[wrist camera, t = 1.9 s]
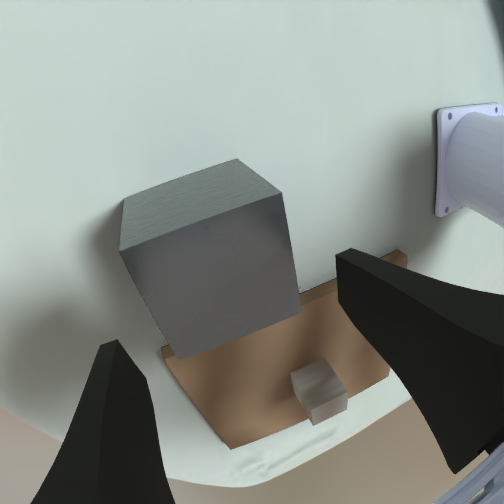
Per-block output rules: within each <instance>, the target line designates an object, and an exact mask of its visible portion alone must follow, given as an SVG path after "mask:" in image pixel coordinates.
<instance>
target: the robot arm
mask: <svg viewBox="0 0 504 504" xmlns="http://www.w3.org/2000/svg"><path fill="white" fill-rule="evenodd" d="M437 125H438V169H437V192H436V207H435V214H436V216H438V217H440V218H442V217H444V216H446V215H448V214H450V213H452V212H454V211H456V210H458V209H460V208H462V207H464V206H467V207H469V208H470V209H472V210H474V211H476V212H477V213H479V214H481V215H483V216H484V217H486V218H488V219H490V220H491V221H493V222H495V223H496V224H498V225H500V226H501V227H503V228H504V108H503V105H502V104H501V103H488V104H477V105H467V106H458V107H450V108H442V109H440V110H439V111H438V114H437ZM335 257H336V272H337V291H338V302H339V304H340V305H341V307H342V308H343V310H344V312H345V313H346V315H347V316H348V317H349V319H350V320H351V322H352V323H353V325H354V326H355V327H356V328H357V329H358V331H359V332H360V333H361V334H362V335H363V336H364V337H365V339H366V340H367V341H368V342H369V343H370V344H371V345H372V347H373V348H374V349H375V350H376V351H377V352H378V353H379V354H380V356H381V357H382V358H383V359H384V360H385V361H386V362H387V364H388V365H389V366H390V367H391V368H392V369H393V371H394V372H395V373H396V375H397V376H398V377H399V378H400V380H401V381H402V383H403V384H404V386H405V387H406V389H407V390H408V392H409V393H410V395H411V396H412V398H413V399H414V401H415V403H416V404H417V406H418V408H419V409H420V411H421V413H422V414H423V416H424V418H425V420H426V421H427V423H428V425H429V427H430V429H431V431H432V432H433V434H434V436H435V438H436V440H437V442H438V444H439V446H440V448H441V451H442V453H443V455H444V457H445V459H446V462H447V464H448V467H449V468H450V469H451V471H452V472H453V473H454V474H457V473H458V472H459V471H460V470H462V469H463V468H464V467H465V466H467V465H468V464H469V463H470V462H471V461H472V460H474V459H475V458H476V457H477V456H478V455H479V454H480V453H482V452H483V451H484V450H486V452H487V453H488V454H489V456H488V457H487V458H486V459H485V460H484V461H483V462H482V463H481V464H479V465H478V466H477V467H476V468H475V469H474V470H473V471H472V472H470V473H469V474H468V475H467V476H466V477H465V478H463V479H462V480H461V481H460V482H459V483H458V484H456V485H455V486H454V487H453V488H451V489H450V490H449V491H448V492H446V493H445V494H444V495H442V496H441V497H440V498H439V499H437V500H436V501H434V502H433V503H432V504H465V503H466V502H467V501H468V500H469V499H471V498H472V497H473V496H474V495H475V494H476V493H477V492H479V491H480V490H481V489H482V488H483V487H484V492H482V493H481V494H479V495H478V496H476V497H475V498H473V499H471V500H470V501H469V502H467V503H466V504H504V295H500V294H494V293H488V292H483V291H478V290H473V289H469V288H465V287H461V286H457V285H453V284H450V283H446V282H443V281H440V280H437V279H434V278H431V277H427V276H424V275H422V274H419V273H416V272H413V271H411V270H408V269H405V268H403V267H400V266H397V265H395V264H392V263H390V262H387V261H385V260H382V259H380V258H377V257H374V256H372V255H369V254H367V253H364V252H361V251H358V250H355V249H352V248H350V249H348V250H345V251H343V252H341V253H338V254H336V255H335ZM31 504H175V501H174V499H173V496H172V493H171V490H170V487H169V484H168V481H167V478H166V474H165V471H164V466H163V462H162V456H161V451H160V445H159V439H158V433H157V427H156V420H155V414H154V407H153V403H152V399H151V395H150V391H149V388H148V384H147V380H146V377H145V376H144V375H143V374H142V372H141V371H140V370H139V368H138V367H137V366H136V364H135V363H134V362H133V360H132V359H131V358H130V356H129V355H128V354H127V352H126V351H125V350H124V348H123V347H122V345H121V344H120V343H119V341H118V340H114V341H111V342H108V343H105V344H103V345H100V348H99V350H98V352H97V355H96V358H95V360H94V363H93V366H92V368H91V371H90V374H89V377H88V379H87V382H86V385H85V388H84V390H83V393H82V396H81V399H80V402H79V404H78V407H77V409H76V412H75V414H74V417H73V419H72V422H71V424H70V427H69V430H68V432H67V435H66V437H65V439H64V442H63V444H62V446H61V448H60V450H59V453H58V455H57V457H56V459H55V461H54V463H53V465H52V467H51V469H50V471H49V472H48V474H47V476H46V478H45V480H44V482H43V483H42V486H41V487H40V489H39V491H38V492H37V494H36V496H35V497H34V499H33V501H32V502H31Z"/></svg>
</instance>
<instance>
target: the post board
mask: <svg viewBox="0 0 504 504" xmlns="http://www.w3.org/2000/svg"><path fill="white" fill-rule="evenodd" d="M380 259H382V260H385V261H387V262H390V263H392V264H395V265H397V266H400V267H403V268H405V269H406V266H407V256H406V255H405V254H404V253H402V252H401V251H400V250H396V251H394V252H392V253H390V254H388V255H386V256H384V257H382V258H380ZM299 297H300V303H301V310H302V313H299V314H297V315H295V316H292V317H290V318H288V319H285V320H283V321H281V322H278V323H276V324H274V325H271V326H269V327H266V328H264V329H261V330H259V331H256V332H254V333H252V334H249V335H247V336H244V337H241V338H239V339H236V340H234V341H231V342H229V343H226V344H223V345H221V346H218V347H216V348H213V349H210V350H208V351H205V352H202V353H199V354H197V355H194V356H191V357H188V358H186V359H183V360H180V361H179V360H178V358H177V357H176V355H175V353H174V352H173V350H172V348H171V347H170V345H168V346H165V347H162V348H161V349H162V354H163V360H164V361H165V363H166V364H167V366H168V367H169V369H170V370H171V372H172V373H173V375H174V376H175V378H176V379H177V380H178V382H179V383H180V385H181V386H182V387H183V389H184V390H185V392H186V393H187V394H188V396H189V397H190V399H191V400H192V401H193V403H194V404H195V405H196V407H197V408H198V409H199V411H200V412H201V413H202V415H203V416H204V417H205V419H206V420H207V421H208V422H209V424H210V425H211V426H212V428H213V429H214V430H215V431H216V433H217V434H218V435H219V436H220V438H221V439H222V440H223V441H224V442H225V444H226V445H227V446H228V447H229V449H230V450H231V449H234V448H237V447H240V446H243V445H246V444H248V443H251V442H254V441H256V440H259V439H261V438H264V437H267V436H269V435H272V434H274V433H276V432H279V431H281V430H284V429H286V428H288V427H291V426H293V425H295V424H297V423H300V422H302V421H304V420H306V419H308V418H309V419H310V421H311V423H312V425H313V426H314V425H316V424H318V423H320V422H322V421H324V420H326V419H328V418H330V417H332V416H334V415H336V414H338V413H340V412H342V411H344V410H346V409H347V400H348V399H349V398H351V397H353V396H354V395H356V394H358V393H360V392H362V391H363V390H365V389H367V388H369V387H371V386H372V385H374V384H376V383H378V382H379V381H381V380H383V379H384V378H386V377H388V376H389V371H390V366H389V365H388V364H387V362H386V361H385V360H384V359H383V358H382V357H381V356H380V354H379V353H378V352H377V351H376V350H375V349H374V348H373V347H372V345H371V344H370V343H369V342H368V341H367V340H366V339H365V337H364V336H363V335H362V334H361V333H360V332H359V331H358V329H357V328H356V327H355V326H354V325H353V323H352V322H351V320H350V319H349V317H348V316H347V315H346V313H345V312H344V310H343V308H342V307H341V305H340V304H339V302H338V291H337V278H336V279H333V280H331V281H329V282H327V283H324V284H322V285H320V286H317V287H315V288H313V289H310V290H308V291H306V292H303V293H301V294H299Z"/></svg>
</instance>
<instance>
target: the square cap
mask: <svg viewBox="0 0 504 504" xmlns="http://www.w3.org/2000/svg"><path fill="white" fill-rule="evenodd" d="M119 253H120V255H121V257H122V259H123V261H124V263H125V265H126V267H127V269H128V271H129V273H130V275H131V277H132V279H133V281H134V282H135V284H136V286H137V288H138V290H139V292H140V294H141V296H142V298H143V299H144V301H145V303H146V305H147V307H148V309H149V310H150V312H151V314H152V316H153V318H154V319H155V321H156V323H157V325H158V326H159V328H160V330H161V331H162V333H163V335H164V337H165V338H166V340H167V342H168V343H169V345H170V347H171V348H172V350H173V352H174V353H175V355H176V357H177V358H178V360H179V361H180V360H183V359H186V358H188V357H191V356H194V355H197V354H199V353H202V352H205V351H208V350H210V349H213V348H216V347H218V346H221V345H223V344H226V343H229V342H231V341H234V340H236V339H239V338H241V337H244V336H247V335H249V334H252V333H254V332H256V331H259V330H261V329H264V328H266V327H269V326H271V325H274V324H276V323H278V322H281V321H283V320H285V319H288V318H290V317H292V316H295V315H297V314H299V313H302V310H301V303H300V297H299V290H298V284H297V278H296V271H295V265H294V259H293V253H292V247H291V242H290V236H289V230H288V224H287V219H286V213H285V207H284V202H283V197H282V192H280V191H279V190H278V189H277V188H275V187H274V186H273V185H271V184H270V183H269V182H268V181H266V180H265V179H264V178H262V177H261V176H260V175H258V174H257V173H256V172H254V171H253V170H252V169H250V168H249V167H248V166H246V165H245V164H244V163H242V162H241V161H240V160H238V159H235V160H231V161H228V162H225V163H222V164H219V165H216V166H213V167H210V168H207V169H204V170H201V171H198V172H195V173H192V174H189V175H186V176H183V177H180V178H177V179H175V180H172V181H169V182H166V183H164V184H161V185H158V186H156V187H153V188H150V189H148V190H145V191H142V192H140V193H137V194H135V195H132V196H130V197H127V198H125V199H124V205H123V214H122V223H121V233H120V245H119Z"/></svg>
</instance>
